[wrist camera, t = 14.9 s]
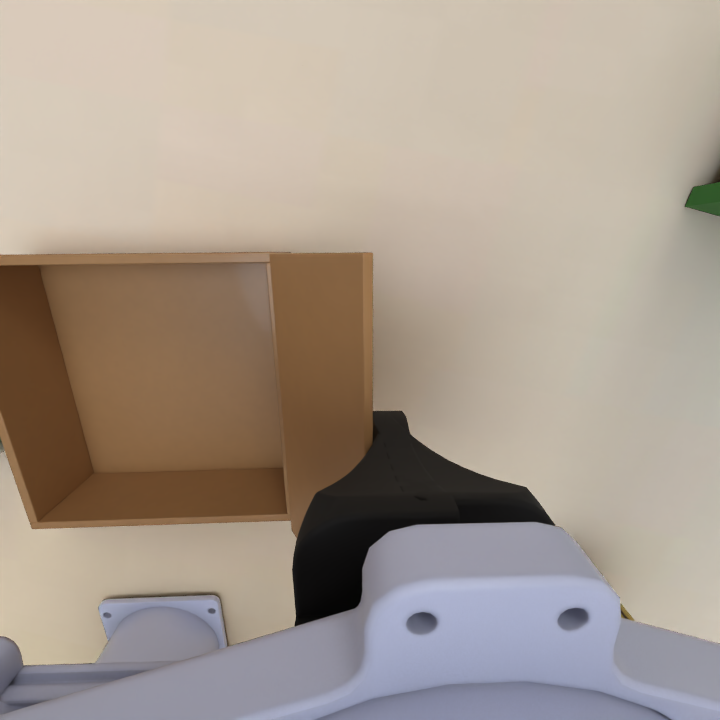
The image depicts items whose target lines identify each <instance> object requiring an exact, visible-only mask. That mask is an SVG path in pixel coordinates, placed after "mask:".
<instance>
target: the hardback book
mask: <svg viewBox="0 0 720 720" xmlns="http://www.w3.org/2000/svg"><path fill="white" fill-rule="evenodd" d="M685 207H689V208H692V209H696V210H700V211H703V212H707V213H710V214H714V215H717V216H720V182H718V183H713V184H707V185H702V186H697V187H694V188H693V190H692V192H691V194H690V196H689V199H688V201H687V203H686V205H685Z"/></svg>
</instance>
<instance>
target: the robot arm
mask: <svg viewBox="0 0 720 720" xmlns="http://www.w3.org/2000/svg"><path fill="white" fill-rule="evenodd" d="M292 572H293V584H294V597H295V609H296V621H295V627H291V628H288V629H285V630H281V631H278V632H275V633H272V634H268V635H265V636H262V637H258V638H255V639H252V640H248V641H245V642H242V643H238V644H235V645H232V646H227V640H226V634H225V628H224V622H223V616H222V610H221V604H220V599H219V598H218V597H217V596H215V595H200V596H174V597H149V598H123V599H106V600H103V601H102V603H101V604H100V605H99V607H98V609H99V613H100V616H101V619H102V623H103V626H104V629H105V632H106V636H107V639H108V643H107V644H106V646H105V648H104V649H103V651H102V653H101V654H100V656H99V657H98V659H97V661H96V662H95V663H89V664H57V665H25V666H23V661H22V656H21V652H20V650H19V647H18V646H17V645H16V643H15V642H14V641H12V640H11V639H9V638H7V637H3V636H0V720H720V644H719V643H716V642H712V641H708V640H704V639H700V638H697V637H693V636H689V635H685V634H682V633H678V632H674V631H670V630H666V629H663V628H659V627H655V626H651V625H648V624H644V623H640V622H636V621H632V620H629V619H625V618H621V609H620V597H619V596H618V595H617V593H616V592H615V591H614V590H613V588H612V587H611V586H610V584H609V583H608V582H607V580H606V579H605V578H604V577H603V575H602V574H601V573H600V571H599V570H598V569H597V568H596V566H595V565H594V564H593V562H592V561H591V560H590V559H589V557H588V556H587V555H586V553H585V552H584V551H583V549H582V548H581V547H580V546H579V544H578V543H577V542H576V541H575V540H574V539H573V538H572V537H571V536H570V535H569V534H568V533H567V532H566V531H565V530H564V529H563V528H561V527H558V526H555V524H554V523H553V521H552V520H551V519H550V517H549V516H548V515H547V513H546V512H545V510H544V509H543V507H542V506H541V505H540V503H539V502H538V501H537V499H536V498H535V497H534V496H533V495H532V493H531V492H530V491H529V490H528V489H527V488H526V487H523V486H519V485H515V484H511V483H508V482H504V481H500V480H496V479H493V478H490V477H487V476H484V475H481V474H478V473H476V472H473V471H471V470H468V469H466V468H463V467H461V466H459V465H457V464H455V463H453V462H451V461H449V460H447V459H445V458H443V457H442V456H440V455H438V454H437V453H435V452H433V451H432V450H430V449H429V448H427V447H426V446H424V445H423V444H422V443H420V442H419V441H418V440H417V439H415V438H414V437H413V436H412V435H411V434H410V432H409V428H408V423H407V418H406V416H405V414H404V413H403V412H402V411H373V444H372V445H371V447H370V449H369V450H368V452H367V453H366V455H365V456H364V457H363V459H362V460H361V461H360V462H359V463H358V464H357V465H356V466H355V468H354V469H353V470H352V471H350V472H349V473H348V474H347V475H346V476H344V477H343V478H341V479H340V480H339V481H337V482H335V483H334V484H332V485H330V486H328V487H326V488H324V489H322V490H320V491H318V492H317V493H316V494H315V495H314V497H313V499H312V501H311V503H310V505H309V507H308V509H307V512H306V514H305V516H304V519H303V521H302V524H301V527H300V530H299V533H298V537H297V540H296V546H295V551H294V557H293V569H292Z"/></svg>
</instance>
